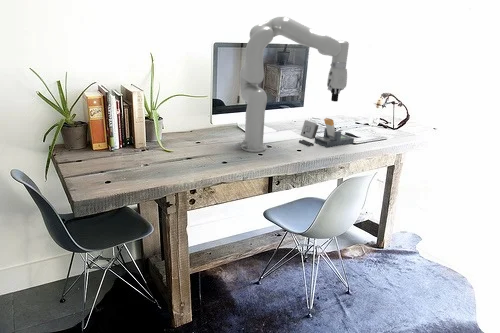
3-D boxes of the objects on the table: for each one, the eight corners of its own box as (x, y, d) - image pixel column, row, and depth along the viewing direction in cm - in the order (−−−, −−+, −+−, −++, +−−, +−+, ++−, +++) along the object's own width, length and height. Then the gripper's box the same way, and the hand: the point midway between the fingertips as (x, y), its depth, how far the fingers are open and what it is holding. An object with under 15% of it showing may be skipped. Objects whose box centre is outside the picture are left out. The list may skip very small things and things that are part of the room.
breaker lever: (335, 139, 210) (331, 121, 204) (327, 136, 215) (323, 119, 209) (337, 137, 211) (333, 119, 205) (330, 135, 216) (325, 117, 210)
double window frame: (326, 147, 206) (328, 133, 203) (314, 142, 214) (315, 129, 211) (353, 143, 216) (355, 129, 213) (340, 139, 224) (342, 125, 221)
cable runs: (309, 146, 206) (309, 144, 206) (298, 142, 214) (298, 139, 213) (314, 146, 208) (314, 143, 208) (303, 141, 216) (303, 139, 215)
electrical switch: (300, 135, 228) (302, 119, 226) (306, 135, 231) (309, 119, 229) (311, 139, 221) (313, 123, 219) (317, 139, 224) (320, 123, 222)
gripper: (333, 66, 192) (328, 103, 198) (354, 66, 200) (349, 101, 206) (322, 65, 198) (319, 100, 204) (343, 64, 206) (339, 99, 212)
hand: (334, 101), depth 205 cm, fingers closed
